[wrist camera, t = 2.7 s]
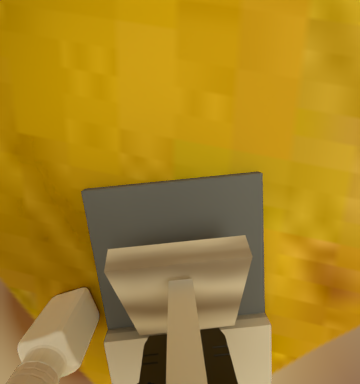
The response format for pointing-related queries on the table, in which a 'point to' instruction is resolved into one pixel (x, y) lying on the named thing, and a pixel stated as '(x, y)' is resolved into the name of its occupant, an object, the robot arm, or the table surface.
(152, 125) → the table surface
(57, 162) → the table surface
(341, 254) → the table surface
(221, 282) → the plank
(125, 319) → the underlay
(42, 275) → the table surface
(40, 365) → the salt shaker
